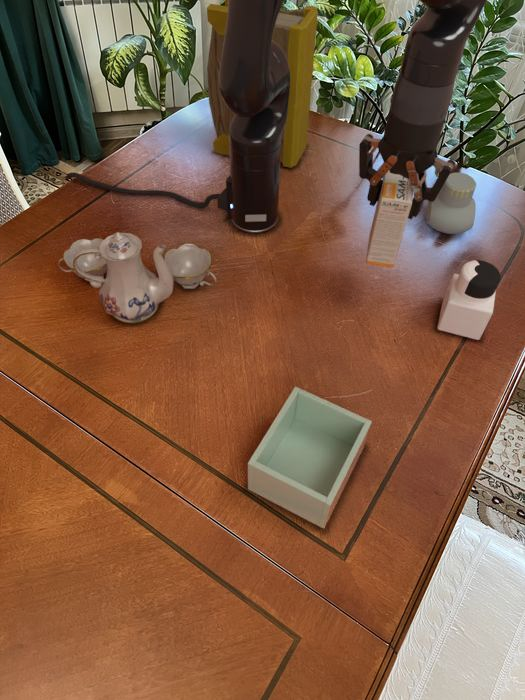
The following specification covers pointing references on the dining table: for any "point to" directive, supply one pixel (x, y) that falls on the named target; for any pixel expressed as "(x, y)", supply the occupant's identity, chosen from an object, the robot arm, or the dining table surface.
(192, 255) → the chinaware
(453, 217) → the air freshener
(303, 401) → the holder
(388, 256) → the supplement box
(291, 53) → the decorative book
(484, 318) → the bust figurine
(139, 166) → the dining table surface
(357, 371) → the dining table surface
